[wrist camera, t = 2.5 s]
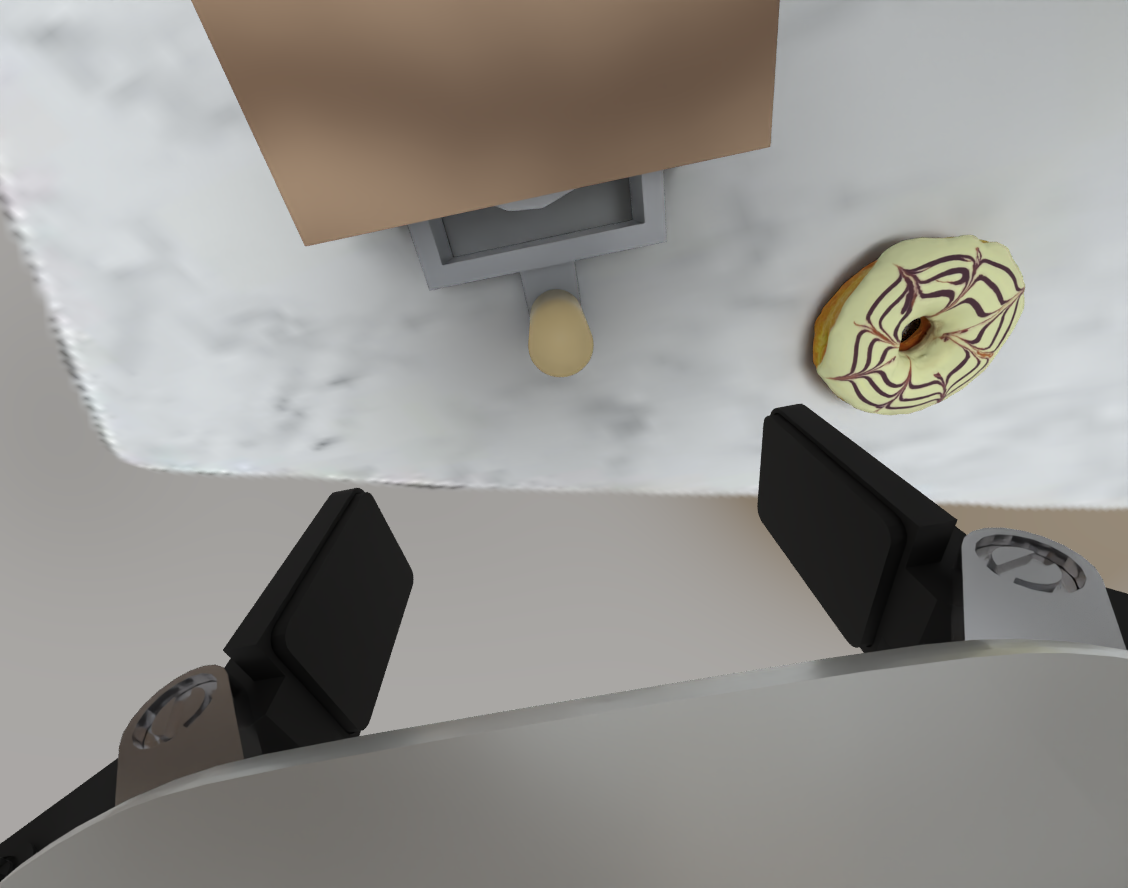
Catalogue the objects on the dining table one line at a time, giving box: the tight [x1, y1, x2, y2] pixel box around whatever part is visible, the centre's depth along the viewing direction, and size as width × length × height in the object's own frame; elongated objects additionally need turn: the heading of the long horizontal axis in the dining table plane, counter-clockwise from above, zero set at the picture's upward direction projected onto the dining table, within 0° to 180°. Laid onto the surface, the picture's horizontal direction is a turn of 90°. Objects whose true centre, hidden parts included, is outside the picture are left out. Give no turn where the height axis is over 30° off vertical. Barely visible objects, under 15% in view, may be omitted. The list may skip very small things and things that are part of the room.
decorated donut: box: [813, 235, 1025, 415], centre depth 25 cm, size 10×11×4 cm
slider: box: [408, 170, 667, 377], centre depth 17 cm, size 22×12×6 cm, turn 10°
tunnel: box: [191, 0, 780, 246], centre depth 16 cm, size 6×15×10 cm, turn 100°
